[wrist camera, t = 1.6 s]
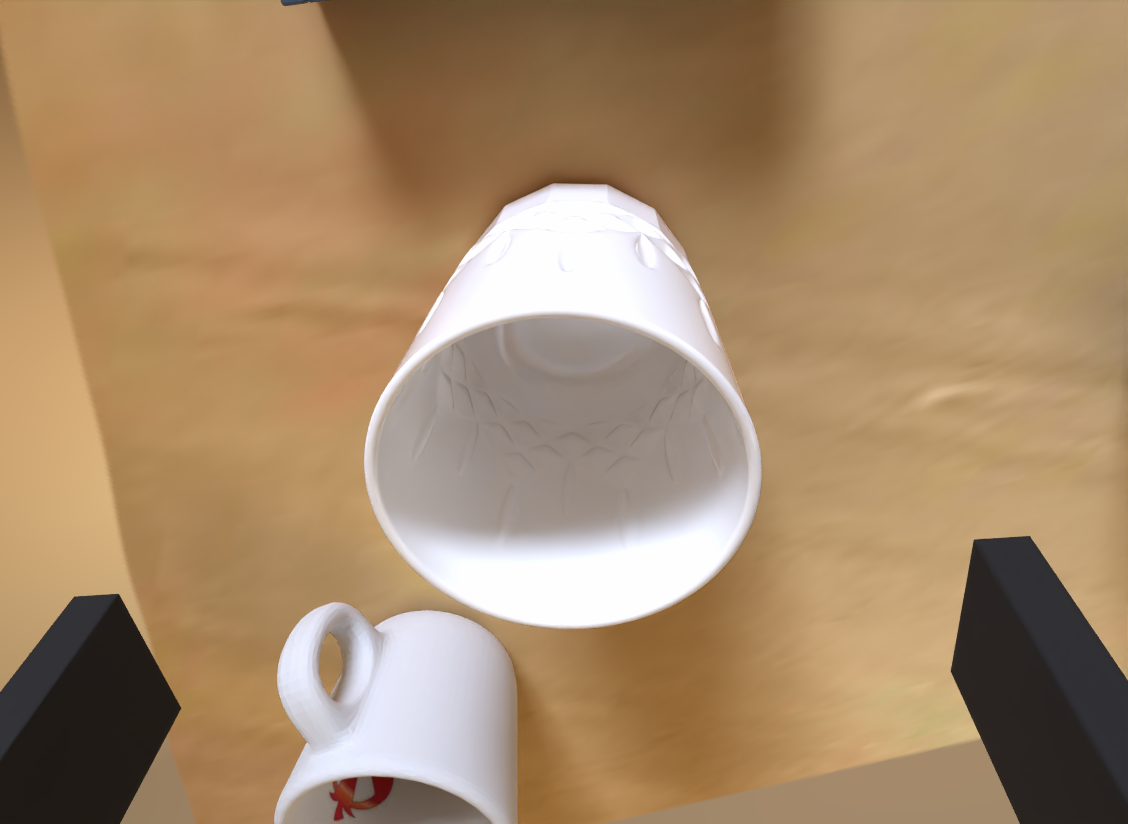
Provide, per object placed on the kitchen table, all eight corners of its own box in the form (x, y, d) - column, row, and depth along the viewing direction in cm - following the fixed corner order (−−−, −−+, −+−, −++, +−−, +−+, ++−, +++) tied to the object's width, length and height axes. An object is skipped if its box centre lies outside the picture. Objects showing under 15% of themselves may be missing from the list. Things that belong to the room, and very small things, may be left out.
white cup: (759, 315, 25) (837, 523, 16) (557, 442, 28) (532, 678, 19) (604, 98, 22) (600, 217, 13) (394, 266, 25) (280, 454, 16)
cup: (255, 575, 32) (157, 758, 25) (426, 501, 29) (370, 680, 22) (412, 740, 36) (366, 931, 29) (570, 687, 34) (560, 881, 27)
